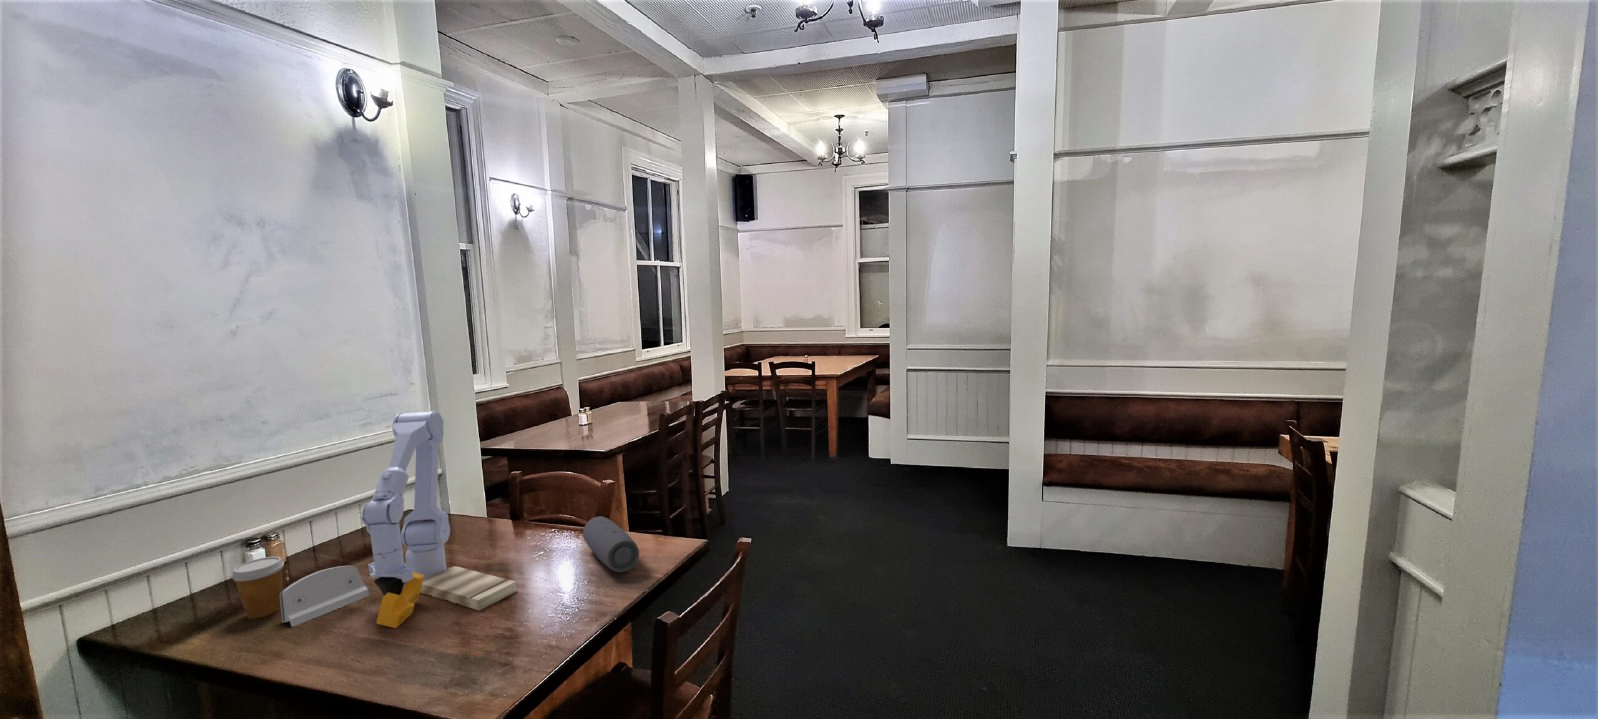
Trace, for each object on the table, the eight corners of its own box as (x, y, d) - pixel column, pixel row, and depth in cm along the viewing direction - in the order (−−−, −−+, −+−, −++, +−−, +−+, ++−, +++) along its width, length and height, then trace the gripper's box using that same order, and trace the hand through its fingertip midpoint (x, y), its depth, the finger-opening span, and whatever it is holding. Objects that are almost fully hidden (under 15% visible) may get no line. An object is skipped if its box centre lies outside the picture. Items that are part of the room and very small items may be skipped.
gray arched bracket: (290, 627, 139) (278, 585, 140) (283, 629, 142) (271, 587, 142) (371, 595, 154) (360, 556, 154) (363, 597, 156) (352, 559, 157)
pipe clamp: (395, 628, 137) (402, 601, 136) (376, 623, 136) (383, 596, 136) (425, 601, 149) (431, 576, 148) (407, 597, 148) (413, 572, 148)
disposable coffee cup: (299, 604, 150) (292, 557, 149) (254, 624, 141) (247, 575, 140) (273, 600, 153) (267, 554, 152) (228, 619, 145) (220, 570, 143)
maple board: (417, 591, 154) (416, 582, 154) (455, 574, 163) (454, 565, 162) (479, 610, 143) (478, 599, 142) (516, 591, 152) (515, 581, 151)
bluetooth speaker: (643, 570, 160) (640, 533, 158) (607, 581, 154) (604, 543, 153) (615, 544, 178) (612, 510, 177) (582, 552, 173) (579, 518, 172)
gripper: (351, 551, 143) (358, 607, 144) (387, 561, 136) (394, 619, 138) (383, 540, 149) (390, 593, 151) (419, 549, 142) (426, 604, 144)
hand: (394, 605), depth 144 cm, fingers closed, pressing on pipe clamp
